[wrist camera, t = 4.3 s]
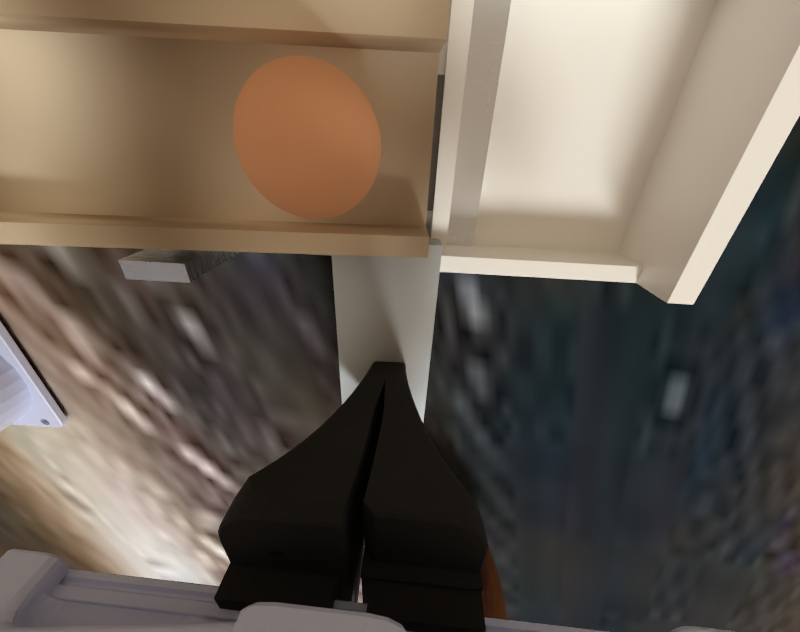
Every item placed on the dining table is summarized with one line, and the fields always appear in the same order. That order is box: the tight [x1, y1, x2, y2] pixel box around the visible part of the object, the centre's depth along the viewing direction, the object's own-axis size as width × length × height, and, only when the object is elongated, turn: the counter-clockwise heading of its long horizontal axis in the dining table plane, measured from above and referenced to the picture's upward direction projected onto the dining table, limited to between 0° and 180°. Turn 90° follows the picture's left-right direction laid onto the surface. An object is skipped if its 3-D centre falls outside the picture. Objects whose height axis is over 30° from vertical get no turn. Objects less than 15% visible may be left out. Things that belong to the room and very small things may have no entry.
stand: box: [118, 0, 511, 283], centre depth 10 cm, size 20×8×4 cm, turn 88°
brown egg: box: [233, 55, 381, 219], centre depth 7 cm, size 3×3×3 cm
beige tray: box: [0, 0, 450, 422], centre depth 10 cm, size 17×15×3 cm
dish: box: [430, 0, 800, 304], centre depth 9 cm, size 8×9×4 cm
